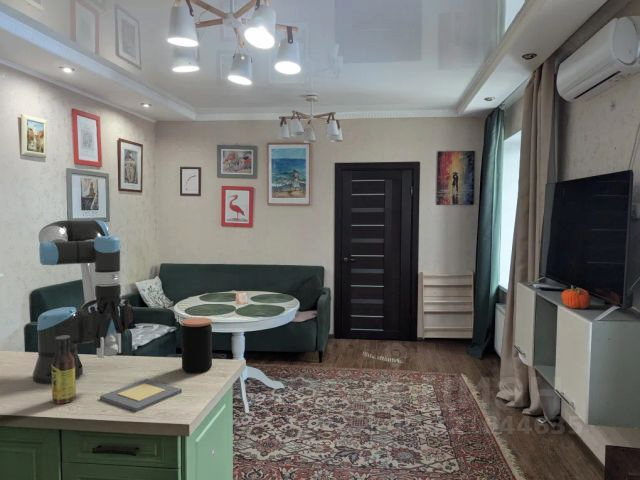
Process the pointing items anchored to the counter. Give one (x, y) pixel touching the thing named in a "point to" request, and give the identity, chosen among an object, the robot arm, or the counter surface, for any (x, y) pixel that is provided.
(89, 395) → the counter surface
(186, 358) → the coffee jar
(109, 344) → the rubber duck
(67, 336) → the sauce bottle
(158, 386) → the board
